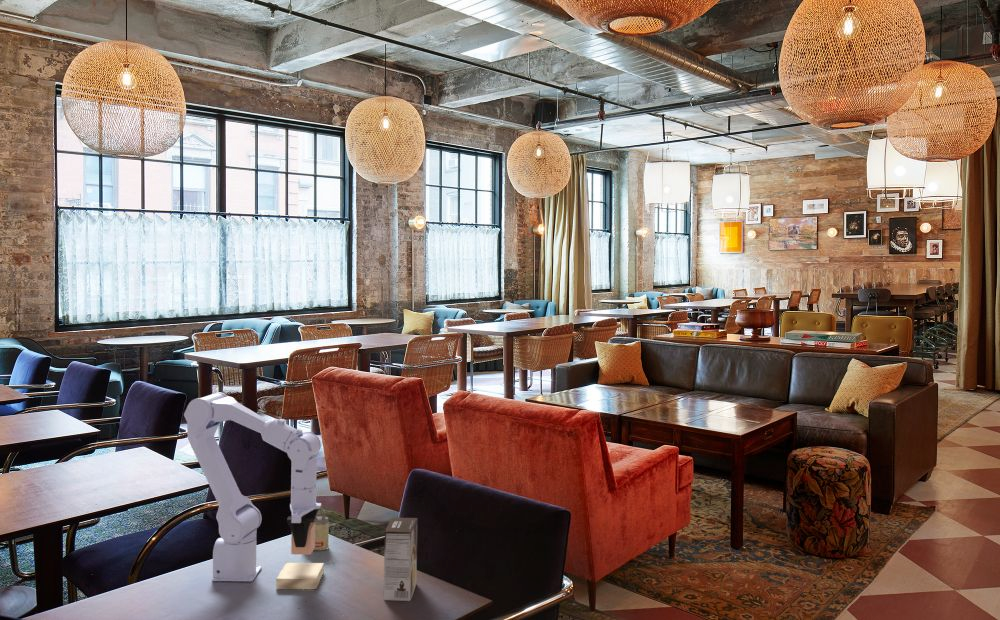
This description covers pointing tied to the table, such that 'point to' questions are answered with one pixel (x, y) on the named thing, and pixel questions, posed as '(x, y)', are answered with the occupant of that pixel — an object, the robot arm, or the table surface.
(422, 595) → the table surface
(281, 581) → the birch block
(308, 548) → the terracotta block
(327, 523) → the yellow package
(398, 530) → the coffee box
